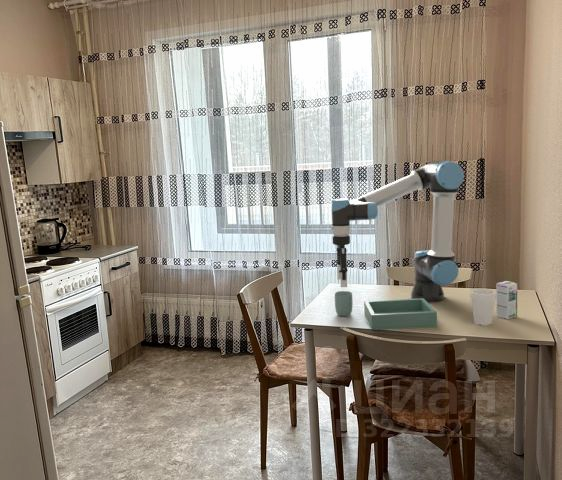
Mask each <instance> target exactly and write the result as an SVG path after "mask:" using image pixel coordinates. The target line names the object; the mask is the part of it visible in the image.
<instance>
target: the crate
mask: <svg viewBox="0 0 562 480" xmlns="http://www.w3.org/2000/svg"><path fill="white" fill-rule="evenodd" d="M363 306H364V307H363V308H364V310H363V311H364V317H365V318H366V321H367V323H368V324H369V327H370V329H371V330H393V329H395V330H396V329H413V328H415V329H416V328H431V327H432V328H434V327H435V328H436V327H437V326H438V319H437V318H438V313H437V311H436V309H434V308H433V307H432V306H431V304H430V302H427V301H426V300H425V299H424V298H417V299H412V298H401V299H377V300H363Z"/></svg>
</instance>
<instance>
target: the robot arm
mask: <svg viewBox="0 0 562 480" xmlns="http://www.w3.org/2000/svg"><path fill="white" fill-rule="evenodd" d="M464 176H465V174H464V170H463V168H462V166H461V165H460V164H458V163H457V162H454V161H452V160H451V161H450V160H443V161H442V160H439V161H438V160H437V161H436V160H435V161H431V162H429V163H426V164H424V165H422V166H421V167H418V168H417V169H414V170H412V171H411V173H410V174H409V175H406V176H404V177H402V178H400V179H398V180H395V181H394V182H391V183H389V184H386V185H384V186H382V187H380V188H378V189H375V190H373V191H371V192H369V193H367V194H366V193H365V194H364V195H362V196H360V197H358V198H355V199H354V198H353V199H349V198H335V199H333V200H332V201H331V210H330V211H331V221H332V222H331V223H332V224H331V225H332V227H331V228H330V230H331V231H332V232H331V233H332V244H333V246H336V262H337V263H336V264H337V266H336V267H337V268H336V269H337V274H336V275H337V280H339V281H340V288H348V261H347V251H348V250H347V248H346V245H350V244H351V236H350V235H351V224H350V223H351V222H352V221H364V220H365V221H371V220H376V219H377V217H378V213H379V212H378V211H379V210H378V209H379V207H381V206H384V205H386V204H388V203H391V202H392V201H395V200H397V199H399V198H402V197H404V196H406V195H408V194H410V193H413V192H416V191H422V190H425V189H428V188H430V194H431V195H433V196H432V197H433V203H432V205H433V206H432V207H433V208H432V224H431V225H432V226H431V247H430V249H428V250H426V249H425V250H419V251H415V253H414V258H413V259H414V283H413V287H412V289H411V293H410V297H411V298H410V299H417V298H424V299H425V300H426V301H427V302H428V303H434V302H435V303H436V302H441V301H443V300H444V299H445V292H444V290H443V287H442V286H447V285H451V284H453V282H454V281H455V280H456V279H457V278H458V275H459V267H458V265H457V263H456V262H455V260H456V259H455V255H456V254H455V253H454V252H453V251H452V247H453V225H454V224H453V223H454V210H455V209H454V206H455V196H457V194H459V187H460V186H461V185H462V183H463V182H464V178H465V177H464Z"/></svg>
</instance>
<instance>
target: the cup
mask: <svg viewBox="0 0 562 480" xmlns="http://www.w3.org/2000/svg"><path fill="white" fill-rule="evenodd" d="M353 302H354V301H353V292H351V291H348V290H339V291H336V292H335V293H334V308H335V312H336V314H337V316H340V317H342V318H343V317H349V316H350V315H352V311H353V304H354V303H353Z"/></svg>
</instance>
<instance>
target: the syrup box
mask: <svg viewBox="0 0 562 480" xmlns="http://www.w3.org/2000/svg"><path fill="white" fill-rule="evenodd" d="M495 286H496V290H495V292H496V298H495V302H496V316H497V317H498V316H499V318H501V317H503V318H502V319H504V318H506V319H505V320H510V318H511V319H514V318H517V317H518V283H517V282H514V281H508V280H504V281H502V282H501V281H500V282H497V283H496V285H495ZM513 317H514V318H513Z"/></svg>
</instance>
